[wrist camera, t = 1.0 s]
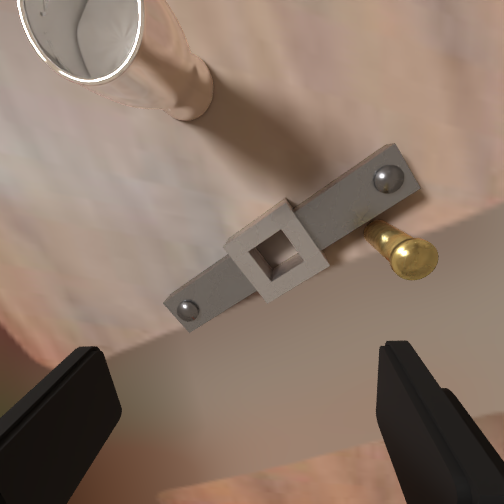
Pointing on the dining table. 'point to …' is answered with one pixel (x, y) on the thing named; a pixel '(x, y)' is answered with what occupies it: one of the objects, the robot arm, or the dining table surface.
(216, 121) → the dining table surface
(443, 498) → the robot arm
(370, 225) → the link pin
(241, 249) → the studded connector plate
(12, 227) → the dining table surface
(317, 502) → the dining table surface
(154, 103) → the metal tumbler
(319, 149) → the dining table surface
